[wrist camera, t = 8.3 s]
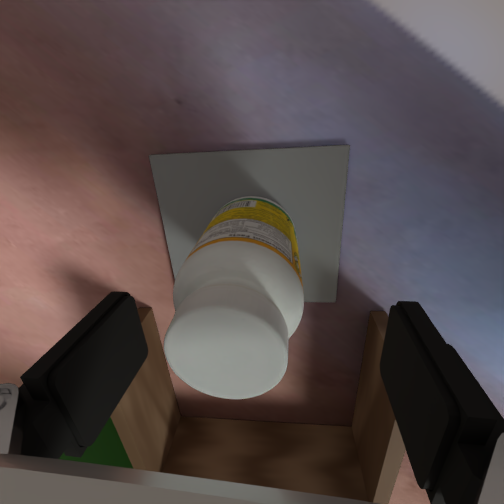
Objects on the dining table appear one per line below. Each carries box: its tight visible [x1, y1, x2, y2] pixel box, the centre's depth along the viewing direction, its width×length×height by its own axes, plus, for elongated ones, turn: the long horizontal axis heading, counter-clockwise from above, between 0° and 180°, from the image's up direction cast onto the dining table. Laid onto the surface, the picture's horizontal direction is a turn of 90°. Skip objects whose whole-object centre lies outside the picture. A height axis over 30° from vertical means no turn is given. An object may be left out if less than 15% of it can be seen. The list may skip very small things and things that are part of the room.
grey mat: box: [149, 145, 350, 302], centre depth 17 cm, size 11×10×1 cm
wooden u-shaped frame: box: [110, 308, 406, 504], centre depth 21 cm, size 18×14×6 cm
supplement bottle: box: [164, 196, 304, 399], centre depth 13 cm, size 5×5×10 cm
